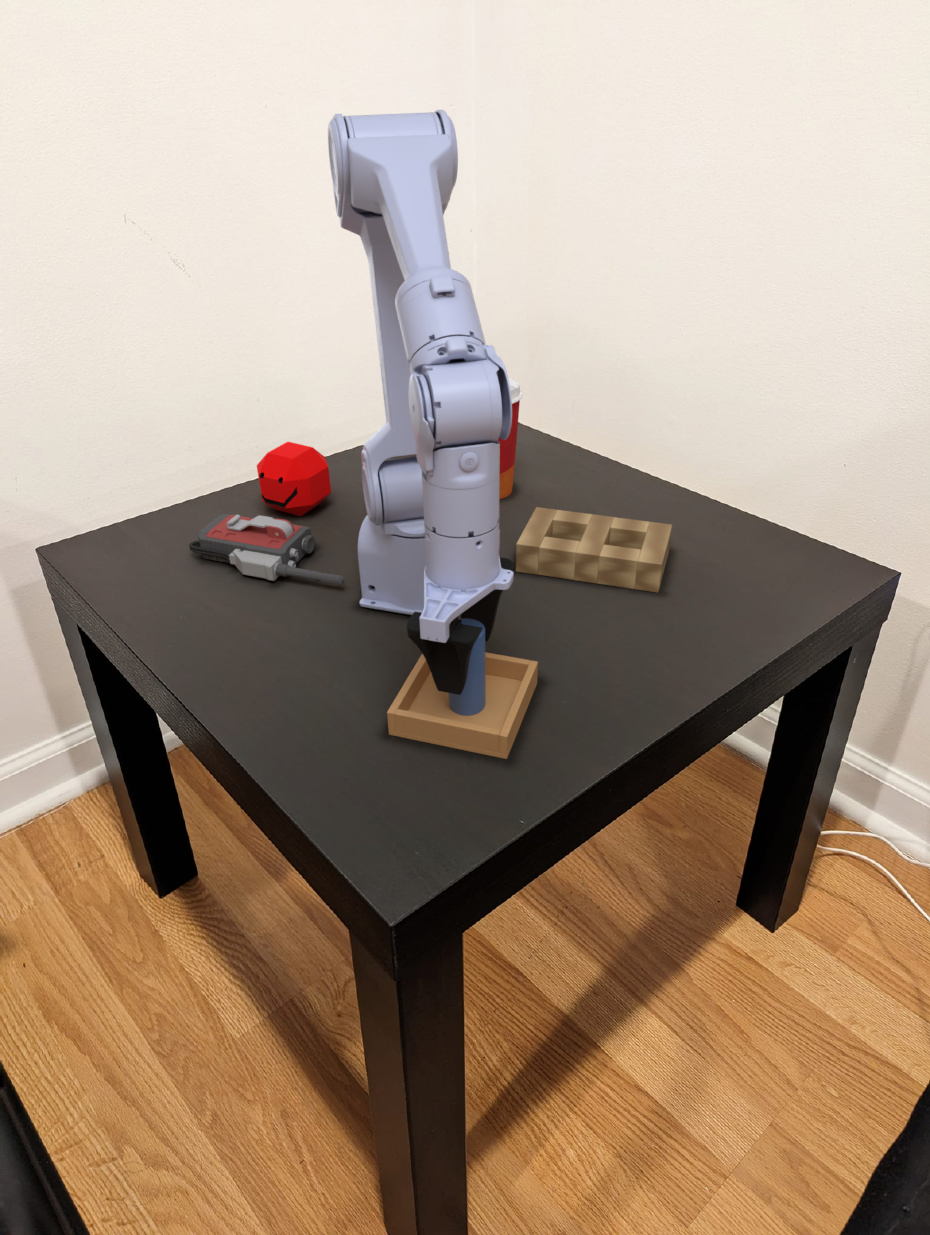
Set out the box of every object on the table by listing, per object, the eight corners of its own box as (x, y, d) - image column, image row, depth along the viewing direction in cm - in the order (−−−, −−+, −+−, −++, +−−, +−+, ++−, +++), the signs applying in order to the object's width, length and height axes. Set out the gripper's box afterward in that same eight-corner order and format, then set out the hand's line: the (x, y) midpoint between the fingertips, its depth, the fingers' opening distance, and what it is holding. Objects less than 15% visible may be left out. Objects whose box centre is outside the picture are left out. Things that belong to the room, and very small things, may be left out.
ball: (252, 513, 108) (242, 455, 104) (293, 487, 114) (285, 432, 109) (303, 527, 104) (295, 468, 100) (342, 500, 110) (336, 444, 106)
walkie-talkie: (179, 567, 97) (340, 597, 92) (171, 532, 95) (336, 560, 89) (222, 531, 104) (374, 557, 98) (215, 497, 102) (371, 522, 96)
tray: (388, 734, 74) (386, 712, 72) (429, 663, 82) (428, 641, 80) (506, 759, 71) (507, 736, 70) (537, 683, 79) (538, 661, 78)
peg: (443, 711, 75) (441, 636, 71) (455, 689, 78) (453, 615, 73) (479, 718, 74) (478, 643, 70) (489, 696, 77) (489, 621, 72)
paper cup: (453, 482, 114) (450, 377, 106) (508, 474, 116) (510, 370, 108) (471, 508, 108) (470, 399, 100) (529, 499, 110) (532, 391, 102)
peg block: (515, 571, 95) (516, 543, 93) (535, 533, 102) (536, 506, 100) (658, 593, 91) (662, 564, 89) (668, 551, 98) (672, 524, 96)
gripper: (484, 576, 59) (485, 726, 67) (536, 486, 71) (531, 623, 78) (388, 561, 61) (399, 709, 69) (453, 476, 72) (457, 611, 80)
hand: (464, 662), depth 74 cm, fingers open, 7 cm apart
